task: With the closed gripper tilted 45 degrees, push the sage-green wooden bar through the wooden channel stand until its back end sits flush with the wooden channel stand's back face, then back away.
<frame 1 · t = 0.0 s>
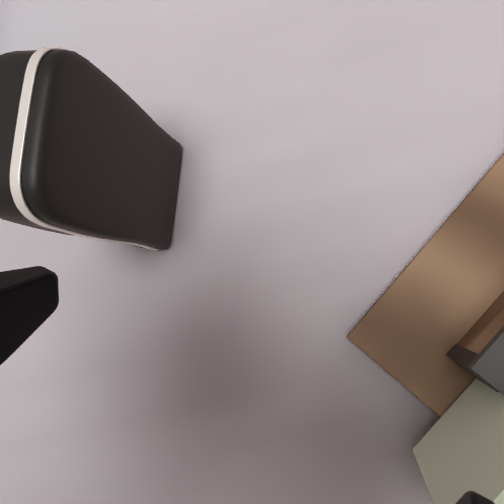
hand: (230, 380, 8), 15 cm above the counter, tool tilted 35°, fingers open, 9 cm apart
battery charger: (151, 196, 26), on the counter
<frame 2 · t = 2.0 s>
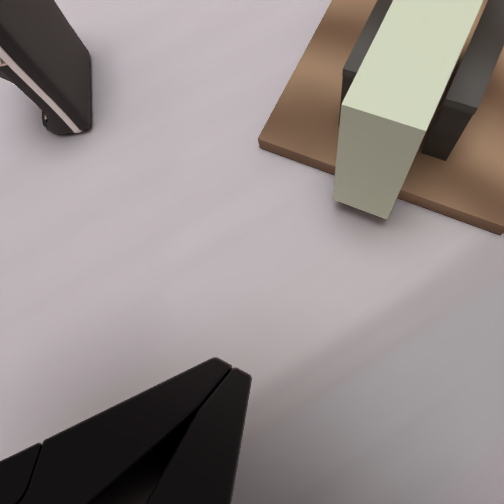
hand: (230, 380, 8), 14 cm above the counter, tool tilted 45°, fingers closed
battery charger: (68, 99, 29), on the counter
bar: (414, 73, 19), point 5 cm above the counter, slide at 0.0 cm
wooden channel stand: (409, 102, 25), on the counter
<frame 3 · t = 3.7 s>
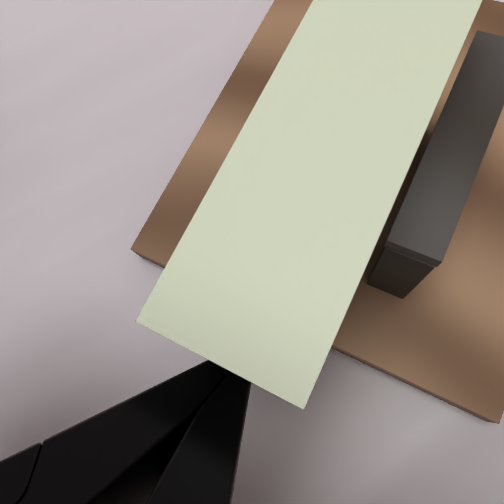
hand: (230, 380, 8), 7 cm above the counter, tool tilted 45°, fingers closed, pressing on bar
bar: (340, 183, 11), point 5 cm above the counter, slide at 0.1 cm, touching gripper
wooden channel stand: (356, 194, 17), on the counter
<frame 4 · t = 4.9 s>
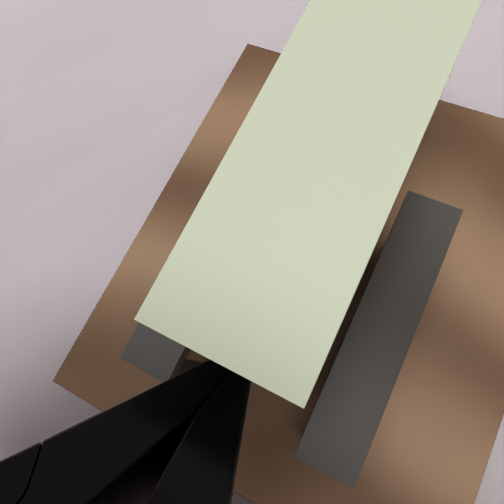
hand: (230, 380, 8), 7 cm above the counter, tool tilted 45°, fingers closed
bar: (341, 181, 11), point 5 cm above the counter, slide at 5.7 cm
wooden channel stand: (298, 317, 16), on the counter
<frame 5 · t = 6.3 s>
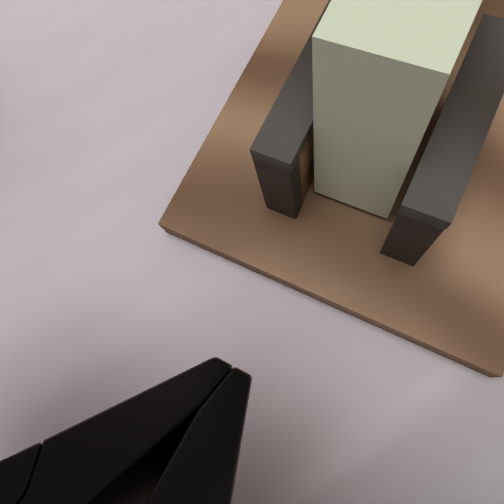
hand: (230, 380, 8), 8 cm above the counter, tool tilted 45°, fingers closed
bar: (425, 12, 14), point 5 cm above the counter, slide at 5.7 cm
wooden channel stand: (368, 171, 18), on the counter
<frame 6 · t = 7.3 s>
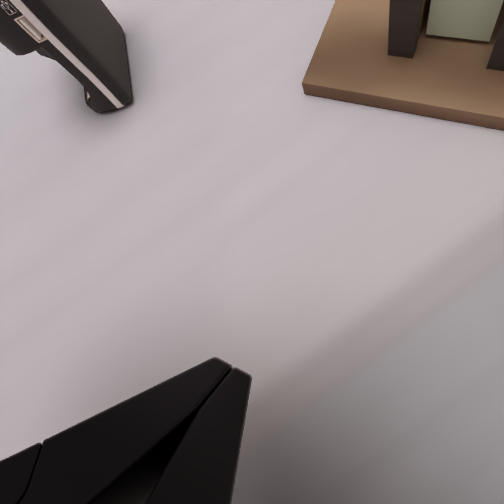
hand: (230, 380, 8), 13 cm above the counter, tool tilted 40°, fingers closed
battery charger: (107, 77, 29), on the counter
wooden channel stand: (465, 20, 23), on the counter
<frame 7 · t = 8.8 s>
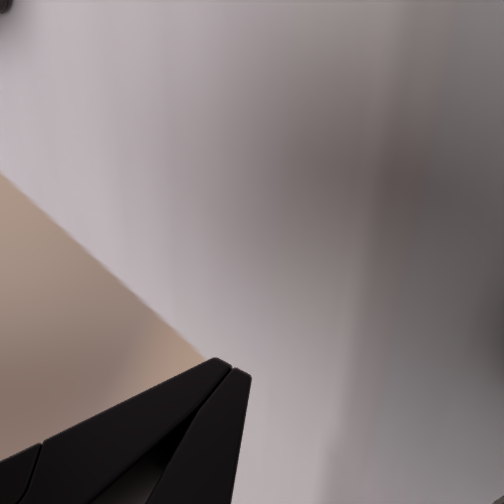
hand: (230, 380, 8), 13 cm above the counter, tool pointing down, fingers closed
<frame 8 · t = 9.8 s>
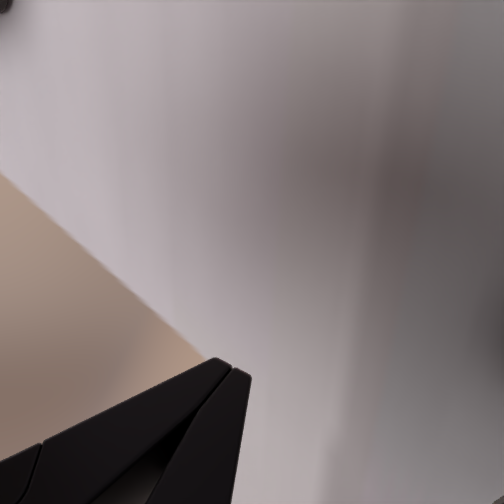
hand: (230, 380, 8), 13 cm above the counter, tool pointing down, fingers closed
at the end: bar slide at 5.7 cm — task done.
